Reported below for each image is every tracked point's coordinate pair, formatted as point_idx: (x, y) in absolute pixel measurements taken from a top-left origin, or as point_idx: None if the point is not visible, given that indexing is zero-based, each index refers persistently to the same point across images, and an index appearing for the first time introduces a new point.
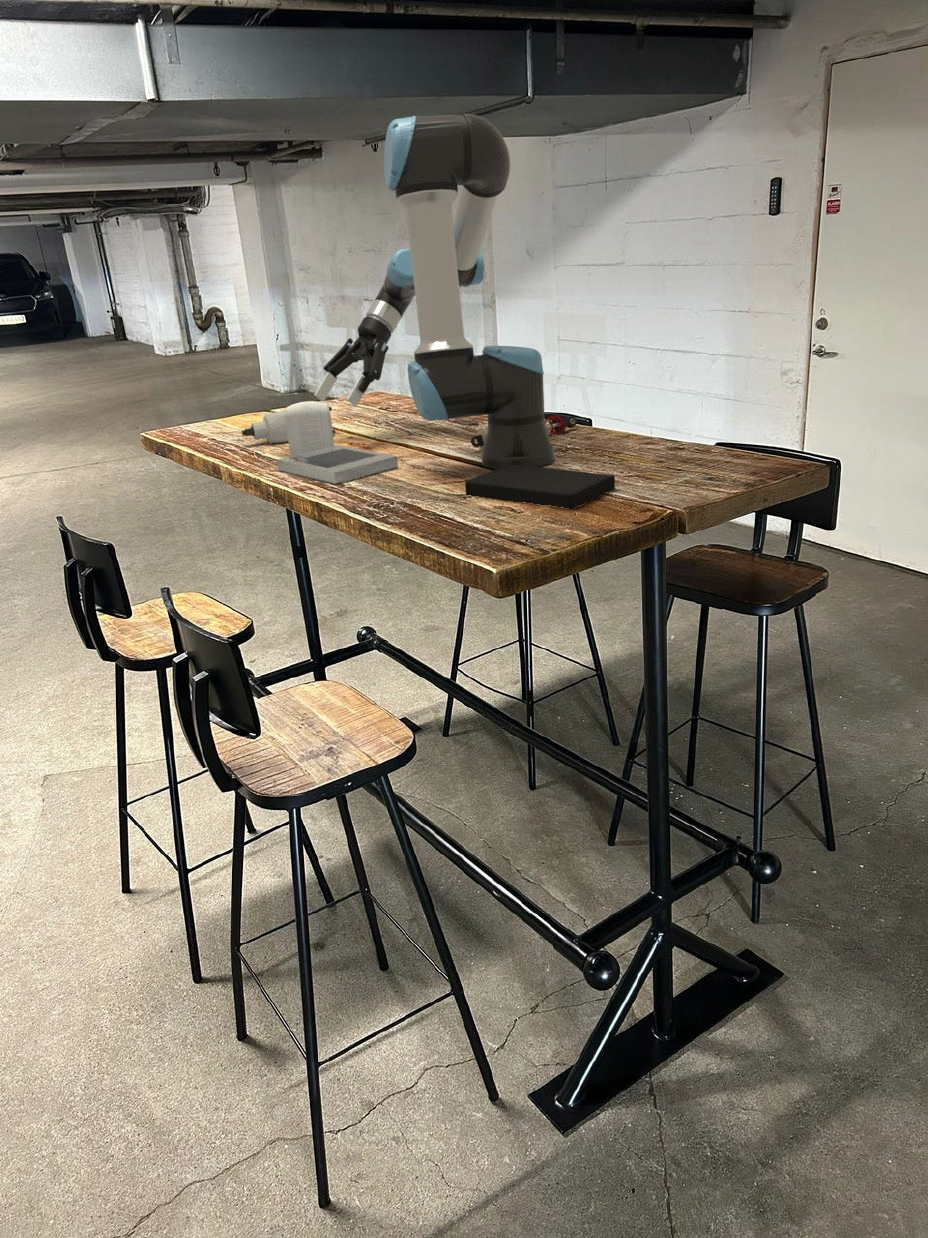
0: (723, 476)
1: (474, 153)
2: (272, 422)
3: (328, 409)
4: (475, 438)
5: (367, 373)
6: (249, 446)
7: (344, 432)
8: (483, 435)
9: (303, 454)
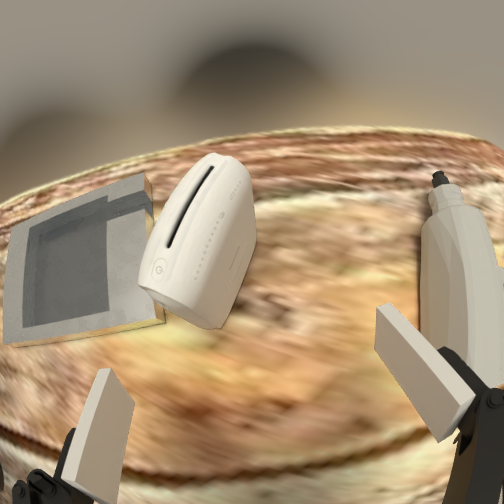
0: None
1: None
2: (440, 218)
3: (150, 295)
4: None
5: (41, 490)
6: (427, 199)
7: None
8: None
9: (135, 221)
